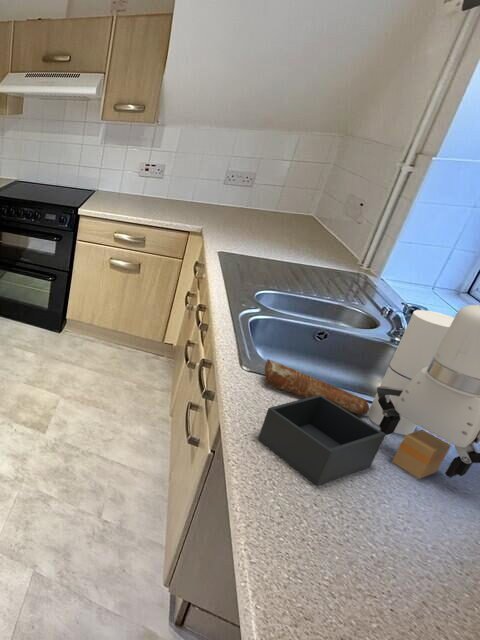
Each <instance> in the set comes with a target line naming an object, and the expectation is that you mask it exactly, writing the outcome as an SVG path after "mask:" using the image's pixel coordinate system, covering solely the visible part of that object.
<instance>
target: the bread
mask: <svg viewBox="0 0 480 640" xmlns="http://www.w3.org/2000/svg"><path fill="white" fill-rule="evenodd" d="M264 376H265V380H264V381H265V383H266V384H268V385H270V386H271V387H274V388H276V389H279V390H281V391H285V392H287V393H291V394H294V395H297V396H300V397H303V398H308V397H312V396H316V395H322V396H323V397H325V398H327V399H328V400H330V401H332V402H333V403H335V404H337V405H338V406H340V407H342V408H343V409H345V410H347V411H348V412H350V413H352V414H356V415H366V414H368V411H369V409H370V407H369V406H370V405H369V402H368V401H367V400H366V399H365V398H363V397H361V396H357V395H355V394H353V393H350V392H348V391H346V390H344V389H342V388H339V387H337V386H334V385H331V384H329V383H328V382H325V381H323V380H320V379H318V378H316V377H314V376H311V375H309V374H306V373H304V372H301V371H299V370H297V369H294V368H292V367H289V366H286V365H285V364H281V363H279V362H276V361H273V360H271V359H268V358H267V359H266V362H265V365H264Z"/></svg>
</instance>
